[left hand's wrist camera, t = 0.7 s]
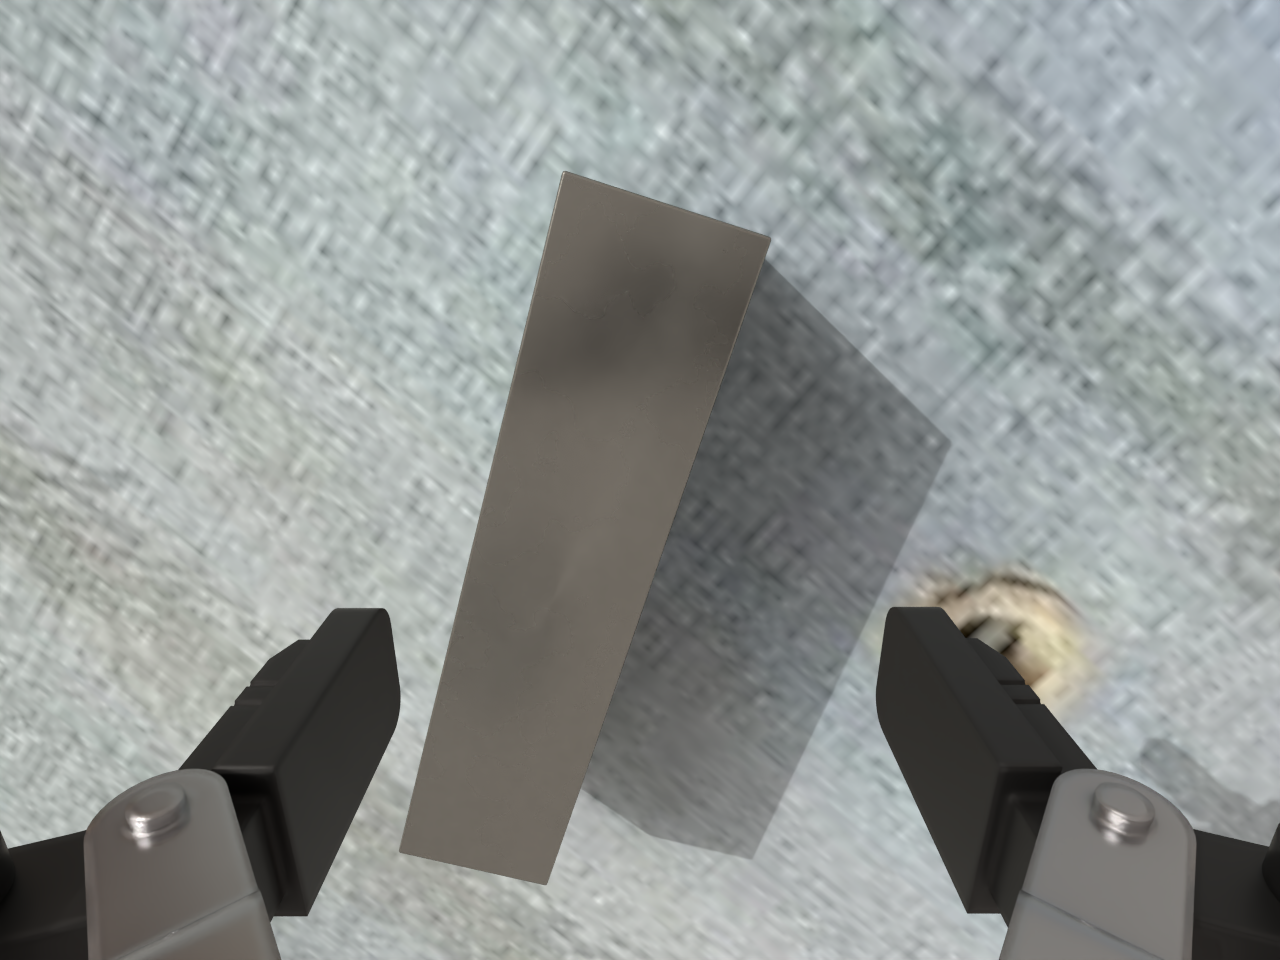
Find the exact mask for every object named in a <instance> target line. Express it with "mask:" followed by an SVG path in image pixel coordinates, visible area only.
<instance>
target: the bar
mask: <svg viewBox="0 0 1280 960" xmlns="http://www.w3.org/2000/svg"><path fill="white" fill-rule="evenodd" d="M770 242H771V238H770V237H768V236H765V235H762V234H759V233H756V232H753V231H750V230H747V229H744V228H740V227H737V226H734V225H731V224H728V223H725V222H722V221H719V220H716V219H713V218H710V217H706V216H703V215H700V214H697V213H694V212H691V211H688V210H685V209H682V208H679V207H676V206H672V205H669V204H666V203H663V202H660V201H657V200H654V199H651V198H648V197H645V196H642V195H638V194H635V193H632V192H629V191H626V190H623V189H620V188H617V187H614V186H611V185H608V184H604V183H601V182H598V181H595V180H592V179H589V178H586V177H583V176H580V175H577V174H574V173H570V172H567V171H563V173H562V176H561V180H560V184H559V188H558V192H557V197H556V201H555V205H554V209H553V213H552V217H551V221H550V226H549V230H548V234H547V238H546V242H545V246H544V250H543V255H542V259H541V263H540V267H539V271H538V275H537V280H536V284H535V288H534V292H533V296H532V300H531V304H530V309H529V313H528V317H527V321H526V325H525V329H524V334H523V338H522V342H521V346H520V350H519V354H518V358H517V363H516V367H515V371H514V375H513V379H512V383H511V387H510V392H509V396H508V400H507V404H506V408H505V412H504V417H503V421H502V425H501V429H500V433H499V437H498V441H497V446H496V450H495V454H494V458H493V462H492V466H491V471H490V475H489V479H488V483H487V487H486V491H485V495H484V500H483V504H482V508H481V512H480V516H479V520H478V524H477V529H476V533H475V537H474V541H473V545H472V549H471V554H470V558H469V562H468V566H467V570H466V574H465V578H464V583H463V587H462V591H461V595H460V599H459V603H458V607H457V612H456V616H455V620H454V624H453V628H452V632H451V637H450V641H449V645H448V649H447V653H446V657H445V661H444V666H443V670H442V674H441V678H440V682H439V686H438V691H437V695H436V699H435V703H434V707H433V711H432V715H431V720H430V724H429V728H428V732H427V736H426V740H425V744H424V749H423V753H422V757H421V761H420V765H419V769H418V774H417V778H416V782H415V786H414V790H413V794H412V798H411V803H410V807H409V811H408V815H407V819H406V823H405V827H404V832H403V836H402V840H401V844H400V848H399V852H400V853H404V854H408V855H413V856H417V857H422V858H426V859H431V860H435V861H439V862H444V863H448V864H453V865H457V866H462V867H466V868H471V869H475V870H480V871H484V872H488V873H493V874H497V875H502V876H506V877H511V878H515V879H520V880H524V881H529V882H533V883H537V884H542V885H547V883H548V880H549V877H550V874H551V872H552V869H553V866H554V863H555V860H556V857H557V854H558V851H559V849H560V846H561V843H562V840H563V837H564V834H565V831H566V828H567V826H568V823H569V820H570V817H571V814H572V811H573V808H574V805H575V803H576V800H577V797H578V794H579V791H580V788H581V785H582V782H583V780H584V777H585V774H586V771H587V768H588V765H589V762H590V759H591V757H592V754H593V751H594V748H595V745H596V742H597V739H598V736H599V734H600V731H601V728H602V725H603V722H604V719H605V716H606V713H607V711H608V708H609V705H610V702H611V699H612V696H613V693H614V690H615V688H616V685H617V682H618V679H619V676H620V673H621V670H622V668H623V665H624V662H625V659H626V656H627V653H628V650H629V647H630V645H631V642H632V639H633V636H634V633H635V630H636V627H637V624H638V622H639V619H640V616H641V613H642V610H643V607H644V604H645V601H646V599H647V596H648V593H649V590H650V587H651V584H652V581H653V578H654V576H655V573H656V570H657V567H658V564H659V561H660V558H661V555H662V553H663V550H664V547H665V544H666V541H667V538H668V535H669V532H670V530H671V527H672V524H673V521H674V518H675V515H676V512H677V509H678V507H679V504H680V501H681V498H682V495H683V492H684V489H685V486H686V484H687V481H688V478H689V475H690V472H691V469H692V466H693V463H694V461H695V458H696V455H697V452H698V449H699V446H700V443H701V441H702V438H703V435H704V432H705V429H706V426H707V423H708V420H709V418H710V415H711V412H712V409H713V406H714V403H715V400H716V397H717V395H718V392H719V389H720V386H721V383H722V380H723V377H724V374H725V372H726V369H727V366H728V363H729V360H730V357H731V354H732V351H733V349H734V346H735V343H736V340H737V337H738V334H739V331H740V328H741V326H742V323H743V320H744V317H745V314H746V311H747V308H748V305H749V303H750V300H751V297H752V294H753V291H754V288H755V285H756V282H757V280H758V277H759V274H760V271H761V268H762V265H763V262H764V259H765V257H766V254H767V251H768V248H769V245H770Z"/></svg>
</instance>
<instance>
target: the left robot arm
mask: <svg viewBox="0 0 1280 960" xmlns="http://www.w3.org/2000/svg"><path fill="white" fill-rule="evenodd" d="M250 683H251V684H250V687H246V688H245V689H244V690H243V692H242V693H241V694H240V695H239V697H238V698H237V699H236V700H235V705H234V706H230V708H229V709H228V710H227V711H226V712H225V714H224V715H223V716H222V717H221V718H220V720H219V721H218V722H217V723H216V725H215V726H214V727H213V728H212V729H211V731H210V732H209V733H208V734H207V735H206V737H205V738H204V739H203V740H202V742H201V743H200V744H199V745H198V746H197V748H196V749H195V750H194V751H193V752H192V754H191V755H190V756H189V757H188V759H187V760H186V761H185V762H184V763H183V765H182V766H181V767H180V768H179V770H176V771H172V772H168V773H164V774H161V775H158V776H155V777H152V778H150V779H147V780H145V781H143V782H140V783H139V784H137V785H135V786H133V787H131V788H129V789H128V790H126V791H124V792H123V793H121V794H120V795H118V796H117V797H116V798H114V799H113V800H112V801H110V802H109V803H108V804H107V805H106V806H105V807H104V808H103V809H101V810H100V811H99V813H98V814H97V815H96V816H95V817H94V819H93V820H92V821H91V823H90V825H89V826H88V828H87V830H85V831H81V832H77V833H73V834H69V835H65V836H61V837H56V838H52V839H48V840H43V841H39V842H35V843H31V844H26V845H22V846H18V847H13V848H9V849H8V848H7V846H6V843H5V841H4V839H3V836H2V834H1V831H0V960H281V957H280V954H279V951H278V947H277V944H276V941H275V937H274V934H273V931H272V927H271V924H270V922H271V920H272V918H273V916H308V914H309V912H310V910H311V907H312V905H313V903H314V901H315V899H316V897H317V895H318V893H319V890H320V888H321V886H322V884H323V882H324V880H325V878H326V876H327V873H328V871H329V869H330V867H331V865H332V863H333V861H334V859H335V856H336V854H337V852H338V850H339V848H340V846H341V844H342V842H343V839H344V837H345V835H346V833H347V831H348V829H349V827H350V824H351V822H352V820H353V818H354V816H355V814H356V812H357V810H358V807H359V805H360V803H361V801H362V799H363V797H364V795H365V793H366V790H367V788H368V786H369V784H370V782H371V780H372V778H373V776H374V773H375V771H376V769H377V767H378V765H379V763H380V761H381V759H382V756H383V754H384V752H385V750H386V748H387V746H388V744H389V742H390V739H391V737H392V735H393V733H394V731H395V728H396V725H397V721H398V717H399V711H400V685H399V677H398V670H397V663H396V656H395V649H394V642H393V635H392V628H391V622H390V617H389V614H388V612H387V611H386V610H385V609H383V608H337V609H334V610H333V611H332V612H331V613H330V614H329V616H328V617H327V618H326V620H325V621H324V622H323V623H322V625H321V626H320V627H319V629H318V630H317V631H316V633H315V634H314V635H313V637H312V638H311V639H310V640H297V641H296V642H294V643H293V644H291V645H290V646H288V647H287V648H285V649H284V650H282V651H281V652H279V653H278V654H276V655H275V656H273V657H272V658H270V659H269V660H268V661H267V663H266V664H265V665H264V666H263V667H262V669H261V670H260V671H259V672H258V673H257V675H256V676H255V677H254V678H253V680H252V681H251V682H250ZM876 706H877V713H878V718H879V722H880V726H881V728H882V731H883V733H884V735H885V737H886V739H887V742H888V744H889V746H890V748H891V750H892V752H893V755H894V757H895V759H896V761H897V763H898V765H899V767H900V770H901V772H902V774H903V776H904V778H905V780H906V783H907V785H908V787H909V789H910V791H911V793H912V795H913V798H914V800H915V802H916V804H917V806H918V808H919V811H920V813H921V815H922V817H923V819H924V821H925V823H926V826H927V828H928V830H929V832H930V834H931V836H932V839H933V841H934V843H935V845H936V847H937V849H938V851H939V854H940V856H941V858H942V860H943V862H944V864H945V867H946V869H947V871H948V873H949V875H950V877H951V879H952V882H953V884H954V886H955V888H956V890H957V892H958V895H959V897H960V899H961V901H962V903H963V905H964V907H965V910H966V912H967V913H1001V915H1002V917H1003V919H1004V921H1005V923H1006V925H1007V927H1008V931H1007V934H1006V937H1005V941H1004V944H1003V947H1002V951H1001V954H1000V957H999V960H1280V823H1279V824H1278V827H1277V829H1276V832H1275V834H1274V837H1273V839H1272V842H1271V844H1270V846H1269V847H1267V846H1263V845H1259V844H1254V843H1250V842H1246V841H1242V840H1237V839H1233V838H1229V837H1224V836H1220V835H1216V834H1212V833H1207V832H1203V831H1199V830H1195V829H1193V828H1192V826H1191V825H1190V823H1189V821H1188V820H1187V819H1186V817H1185V816H1184V815H1183V814H1182V813H1181V811H1180V810H1179V809H1177V808H1176V807H1175V806H1174V805H1173V804H1172V803H1171V802H1170V801H1168V800H1167V799H1166V798H1164V797H1163V796H1162V795H1160V794H1159V793H1157V792H1156V791H1154V790H1152V789H1151V788H1149V787H1147V786H1145V785H1143V784H1141V783H1140V782H1137V781H1135V780H1133V779H1130V778H1128V777H1125V776H1122V775H1119V774H1116V773H1112V772H1108V771H1104V770H1097V768H1096V767H1095V766H1094V765H1093V764H1092V762H1091V761H1090V760H1089V759H1088V757H1087V756H1086V755H1085V754H1084V753H1083V751H1082V750H1081V749H1080V748H1079V746H1078V745H1077V744H1076V743H1075V741H1074V740H1073V739H1072V738H1071V737H1070V735H1069V734H1068V733H1067V732H1066V730H1065V729H1064V728H1063V727H1062V726H1061V724H1060V723H1059V722H1058V721H1057V719H1056V718H1055V717H1054V716H1053V714H1052V713H1051V712H1050V711H1049V710H1048V708H1047V707H1046V706H1045V705H1044V704H1041V703H1040V699H1039V697H1038V696H1037V695H1036V694H1035V692H1034V691H1033V690H1032V689H1031V688H1030V686H1029V685H1025V680H1024V679H1023V678H1022V676H1021V675H1020V674H1019V673H1018V672H1017V670H1016V669H1015V668H1014V667H1013V665H1012V664H1011V663H1010V662H1009V661H1008V659H1007V658H1006V657H1004V656H1003V655H1001V654H1000V653H998V652H997V651H995V650H994V649H992V648H991V647H989V646H988V645H986V644H985V643H983V642H982V641H980V640H979V639H977V638H965V637H964V636H963V634H962V633H961V632H960V630H959V629H958V628H957V627H956V625H955V624H954V623H953V621H952V620H951V619H950V617H949V616H948V615H947V613H946V612H945V611H944V610H943V609H942V608H940V607H892V608H891V609H890V610H889V611H888V614H887V617H886V622H885V629H884V636H883V643H882V650H881V657H880V665H879V672H878V679H877V686H876Z"/></svg>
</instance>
